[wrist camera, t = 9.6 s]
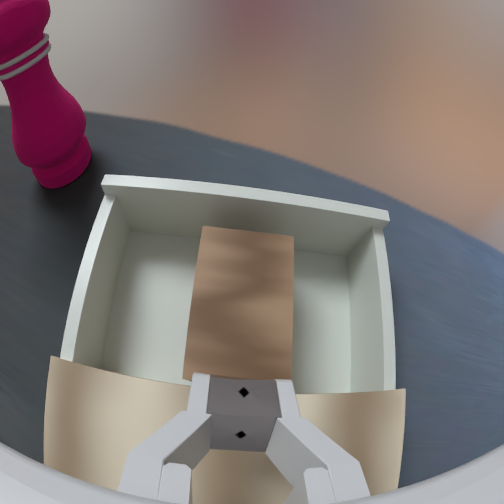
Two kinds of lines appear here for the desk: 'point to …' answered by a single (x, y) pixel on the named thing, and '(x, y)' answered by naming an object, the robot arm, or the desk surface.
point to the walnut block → (241, 306)
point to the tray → (183, 273)
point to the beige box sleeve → (215, 461)
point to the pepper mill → (39, 98)
